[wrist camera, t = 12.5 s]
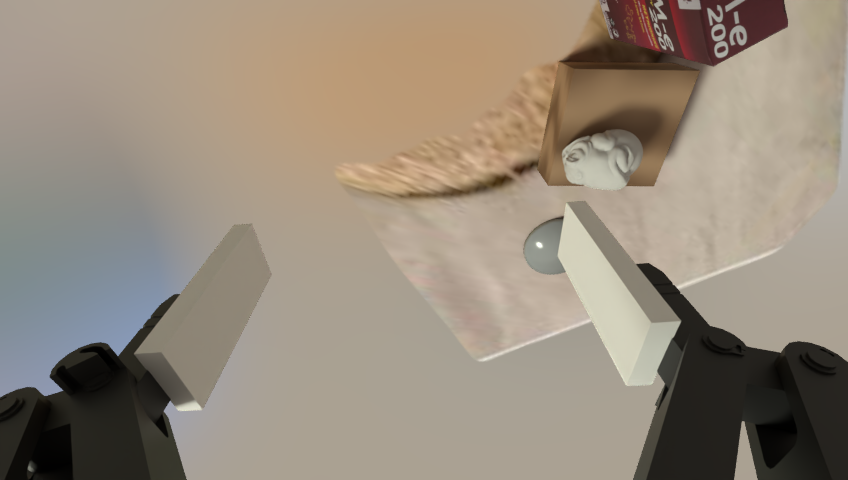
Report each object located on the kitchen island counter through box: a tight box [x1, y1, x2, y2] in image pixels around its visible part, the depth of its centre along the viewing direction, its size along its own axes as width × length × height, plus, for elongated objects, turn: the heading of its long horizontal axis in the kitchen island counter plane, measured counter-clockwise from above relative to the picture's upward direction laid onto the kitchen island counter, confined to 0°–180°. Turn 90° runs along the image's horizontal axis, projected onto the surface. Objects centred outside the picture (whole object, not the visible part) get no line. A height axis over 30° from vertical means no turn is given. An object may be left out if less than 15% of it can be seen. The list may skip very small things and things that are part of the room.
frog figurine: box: [562, 129, 643, 191], centre depth 37 cm, size 6×7×7 cm
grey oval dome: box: [524, 218, 566, 274], centre depth 51 cm, size 9×9×1 cm
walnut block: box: [537, 61, 700, 186], centre depth 40 cm, size 12×12×5 cm
